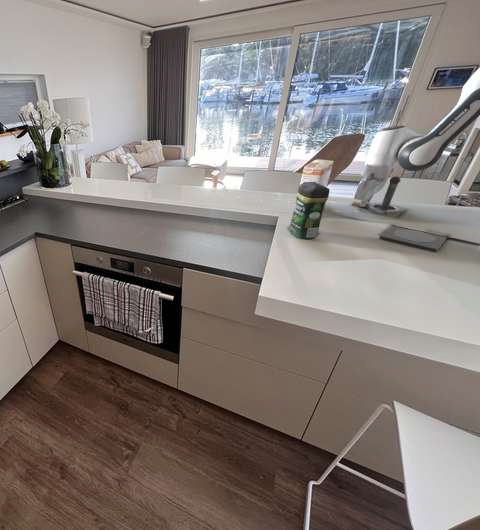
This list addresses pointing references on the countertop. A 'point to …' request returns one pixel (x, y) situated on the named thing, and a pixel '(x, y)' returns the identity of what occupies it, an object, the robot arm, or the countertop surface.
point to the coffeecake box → (317, 172)
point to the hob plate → (414, 238)
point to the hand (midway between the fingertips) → (364, 205)
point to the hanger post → (390, 192)
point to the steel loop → (373, 209)
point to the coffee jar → (308, 210)
